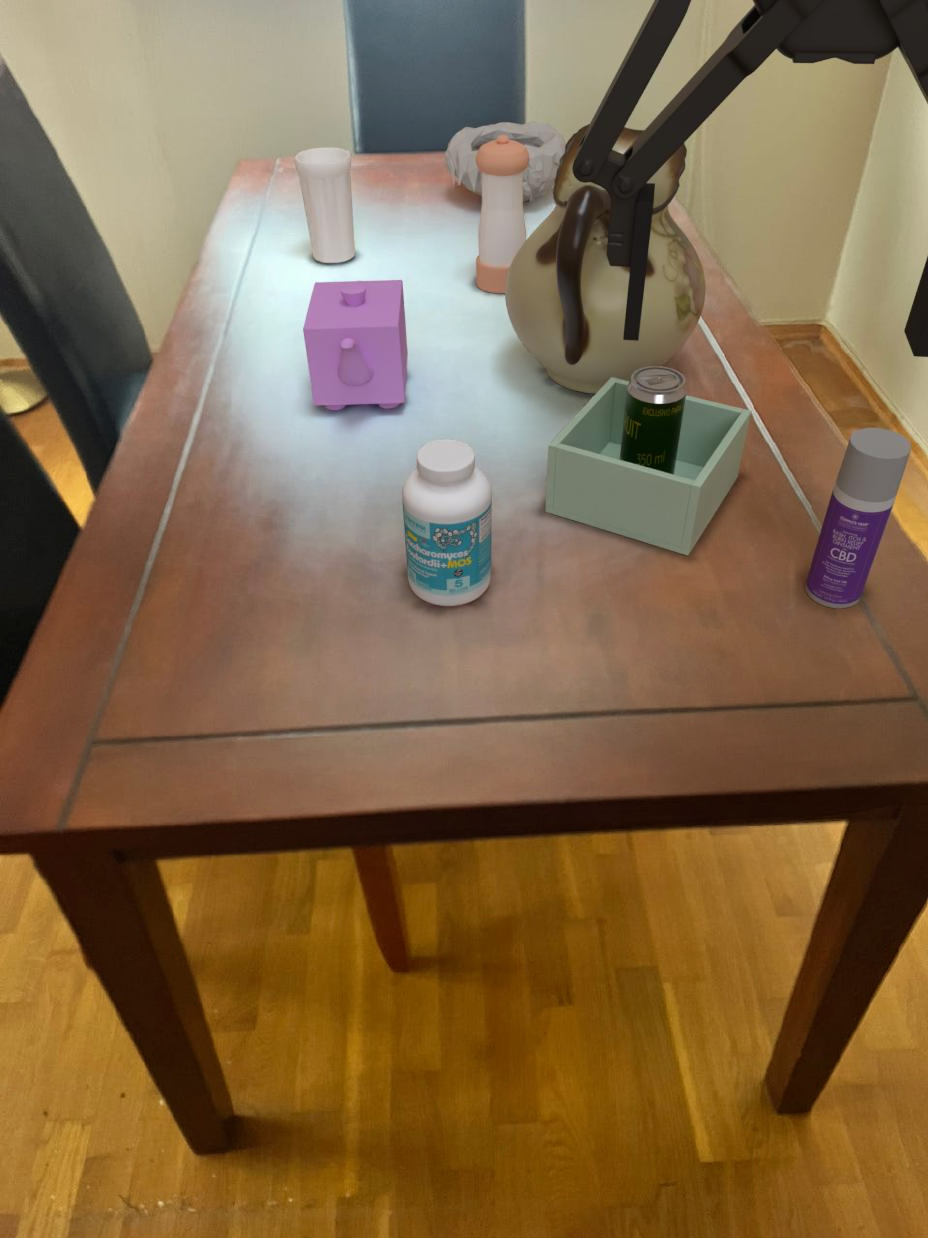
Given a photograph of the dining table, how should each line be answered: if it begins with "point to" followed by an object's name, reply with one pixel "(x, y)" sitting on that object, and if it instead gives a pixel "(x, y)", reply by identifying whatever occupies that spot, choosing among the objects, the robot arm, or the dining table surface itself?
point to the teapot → (357, 343)
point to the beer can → (653, 418)
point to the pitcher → (602, 282)
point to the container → (857, 516)
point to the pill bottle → (447, 524)
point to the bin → (645, 471)
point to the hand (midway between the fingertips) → (771, 336)
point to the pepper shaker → (500, 210)
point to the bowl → (535, 137)
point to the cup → (327, 202)
